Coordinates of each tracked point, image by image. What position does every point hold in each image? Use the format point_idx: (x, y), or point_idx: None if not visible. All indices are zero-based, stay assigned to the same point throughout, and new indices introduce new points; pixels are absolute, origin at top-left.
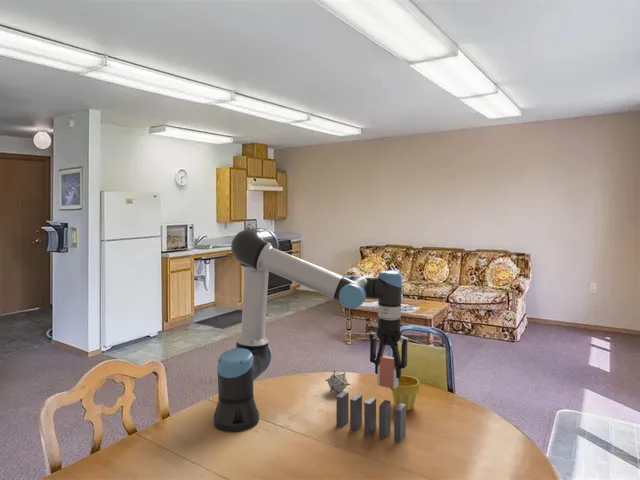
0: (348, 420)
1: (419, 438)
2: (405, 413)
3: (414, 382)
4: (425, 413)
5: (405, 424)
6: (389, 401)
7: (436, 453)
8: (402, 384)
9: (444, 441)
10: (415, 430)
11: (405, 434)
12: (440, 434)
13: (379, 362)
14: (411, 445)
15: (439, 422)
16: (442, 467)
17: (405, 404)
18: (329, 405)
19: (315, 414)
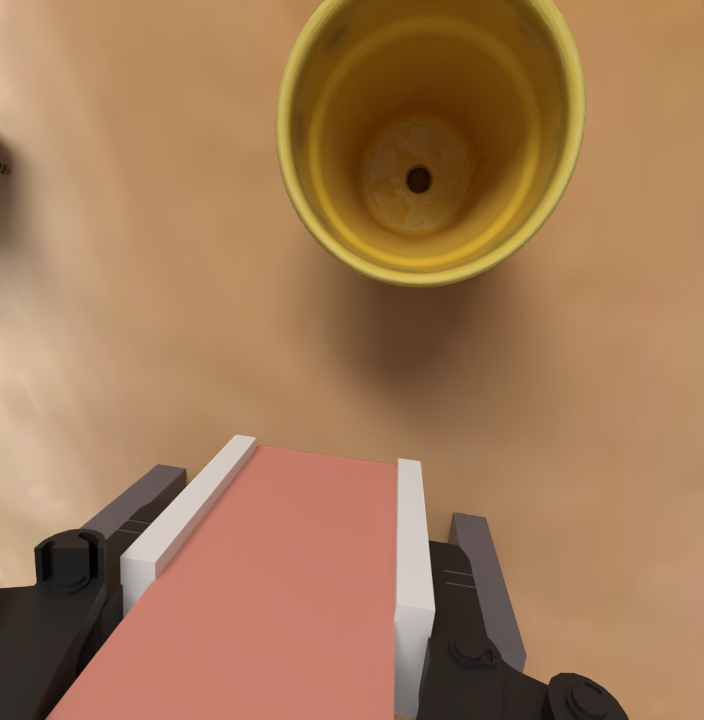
0: (184, 470)
1: (558, 528)
2: (509, 607)
3: (511, 26)
4: (566, 226)
5: (495, 556)
6: None
7: (649, 629)
8: (381, 46)
9: (691, 520)
10: (528, 458)
11: (485, 521)
12: (669, 458)
13: (99, 636)
14: (527, 596)
15: (663, 319)
16: (677, 717)
17: (524, 658)
18: (26, 339)
19: (23, 456)
